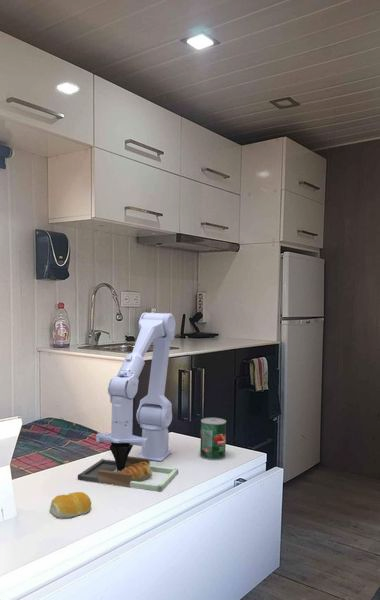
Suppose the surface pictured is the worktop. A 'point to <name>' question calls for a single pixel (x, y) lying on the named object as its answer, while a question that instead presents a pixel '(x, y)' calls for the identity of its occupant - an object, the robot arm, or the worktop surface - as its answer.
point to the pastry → (138, 471)
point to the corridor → (119, 477)
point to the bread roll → (70, 505)
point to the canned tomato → (213, 438)
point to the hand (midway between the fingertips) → (121, 470)
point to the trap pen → (92, 471)
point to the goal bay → (156, 487)
